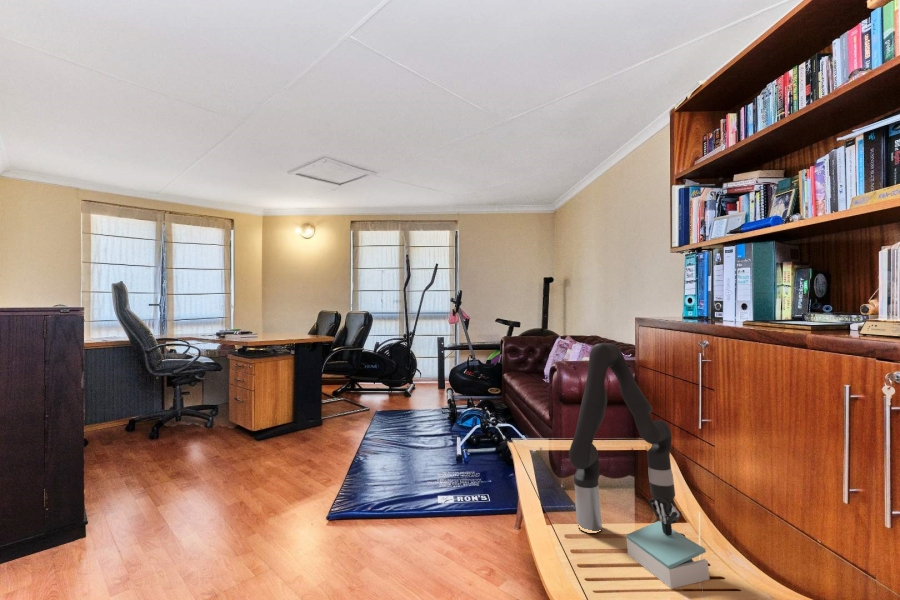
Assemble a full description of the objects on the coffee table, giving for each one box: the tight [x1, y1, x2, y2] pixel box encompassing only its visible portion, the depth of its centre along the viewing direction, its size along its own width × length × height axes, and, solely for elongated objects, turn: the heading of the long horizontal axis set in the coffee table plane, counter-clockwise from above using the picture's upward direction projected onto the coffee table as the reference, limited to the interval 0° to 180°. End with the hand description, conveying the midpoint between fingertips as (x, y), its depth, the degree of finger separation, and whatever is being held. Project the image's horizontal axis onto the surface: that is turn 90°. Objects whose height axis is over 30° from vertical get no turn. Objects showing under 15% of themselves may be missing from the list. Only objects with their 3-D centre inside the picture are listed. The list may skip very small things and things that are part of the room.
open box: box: [626, 537, 710, 589], centre depth 130 cm, size 20×14×6 cm
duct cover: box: [625, 520, 707, 569], centre depth 130 cm, size 20×14×1 cm
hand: (667, 533), depth 133 cm, fingers closed
